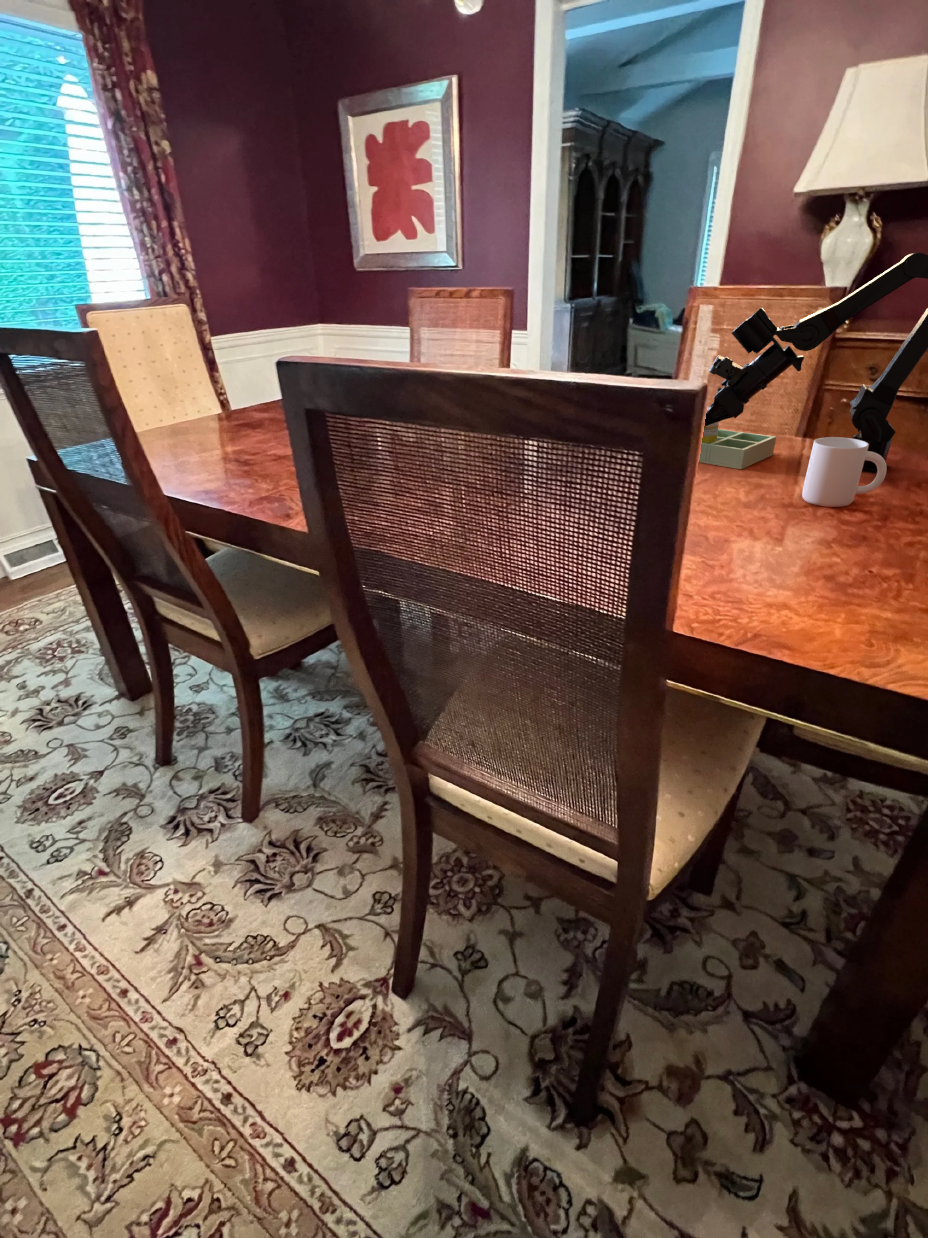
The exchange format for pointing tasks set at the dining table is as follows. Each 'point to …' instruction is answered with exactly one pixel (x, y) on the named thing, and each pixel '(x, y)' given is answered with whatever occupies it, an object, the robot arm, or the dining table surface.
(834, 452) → the mug
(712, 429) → the supplement bottle
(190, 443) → the dining table surface
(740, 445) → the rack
